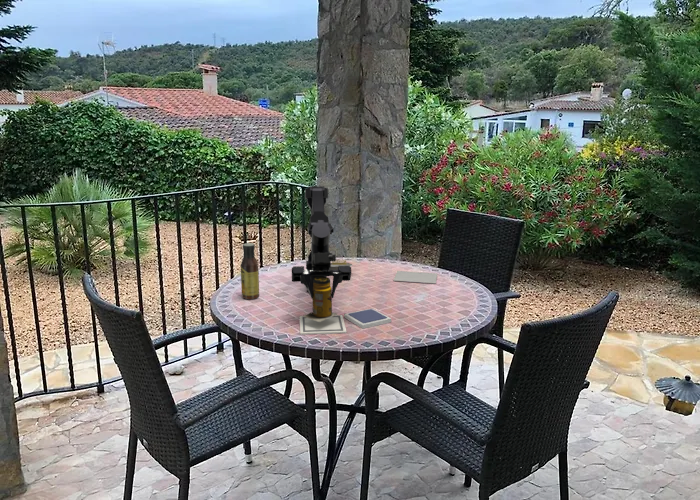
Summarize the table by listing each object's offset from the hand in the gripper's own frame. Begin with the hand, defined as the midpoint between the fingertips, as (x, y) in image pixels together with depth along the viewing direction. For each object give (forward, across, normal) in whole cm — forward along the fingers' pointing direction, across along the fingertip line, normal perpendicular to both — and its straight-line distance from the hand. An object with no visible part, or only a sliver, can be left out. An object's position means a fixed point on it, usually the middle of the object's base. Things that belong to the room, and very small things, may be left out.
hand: (322, 297), depth 170 cm
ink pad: (+4, +15, +10) cm, 18 cm away
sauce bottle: (-14, -24, +28) cm, 40 cm away
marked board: (+6, 0, +8) cm, 10 cm away
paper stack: (-25, +35, +40) cm, 59 cm away
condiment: (+4, -1, +6) cm, 7 cm away
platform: (-32, +10, +47) cm, 57 cm away
